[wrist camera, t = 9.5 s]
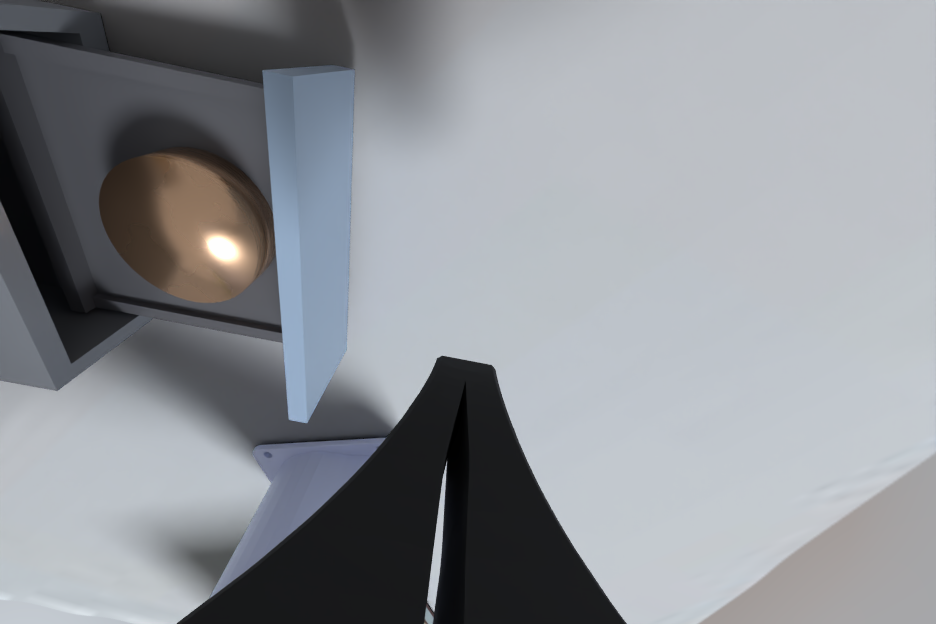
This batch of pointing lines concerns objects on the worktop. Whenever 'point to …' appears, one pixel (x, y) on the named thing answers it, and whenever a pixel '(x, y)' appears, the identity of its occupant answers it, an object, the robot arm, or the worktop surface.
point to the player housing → (24, 253)
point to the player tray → (207, 128)
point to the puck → (188, 223)
